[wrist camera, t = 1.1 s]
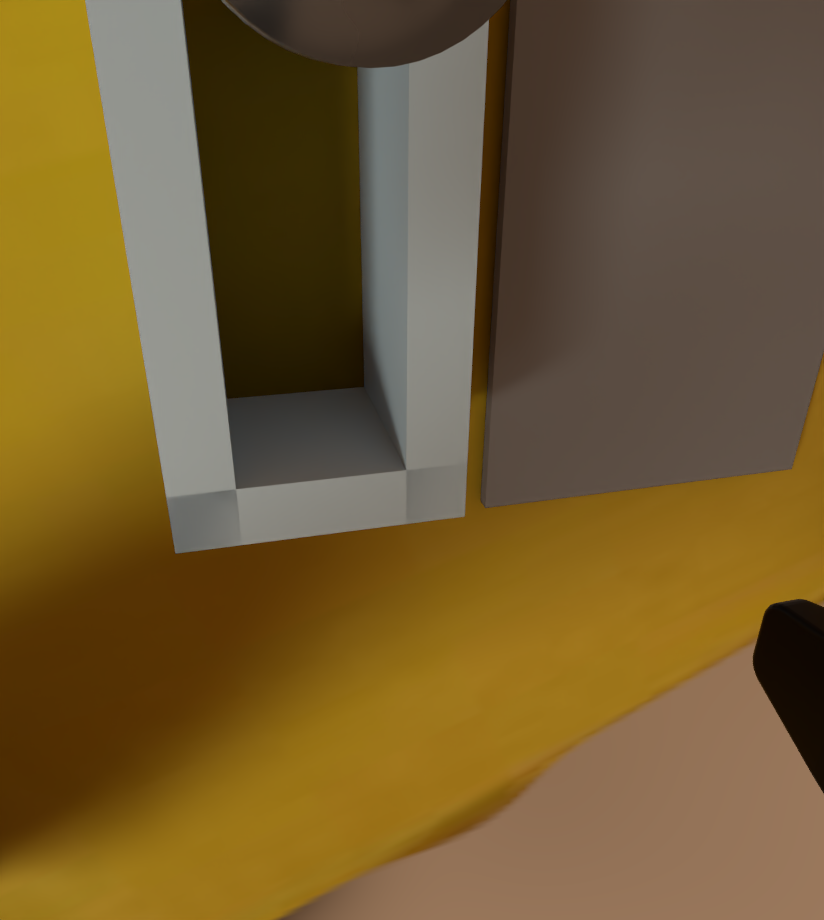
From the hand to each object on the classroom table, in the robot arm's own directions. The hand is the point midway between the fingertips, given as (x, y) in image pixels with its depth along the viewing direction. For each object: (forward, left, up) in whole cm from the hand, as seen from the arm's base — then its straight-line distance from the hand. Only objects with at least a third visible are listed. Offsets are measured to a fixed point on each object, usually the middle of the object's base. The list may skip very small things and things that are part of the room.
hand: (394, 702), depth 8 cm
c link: (+4, 0, -12) cm, 13 cm away
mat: (+3, -10, -12) cm, 16 cm away
